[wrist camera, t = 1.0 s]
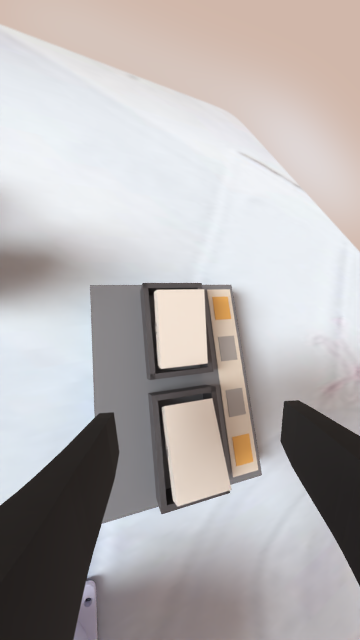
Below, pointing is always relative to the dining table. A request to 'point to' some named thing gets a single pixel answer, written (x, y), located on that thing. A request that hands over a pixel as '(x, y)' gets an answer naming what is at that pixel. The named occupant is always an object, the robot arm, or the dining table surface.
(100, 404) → the switch panel
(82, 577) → the robot arm
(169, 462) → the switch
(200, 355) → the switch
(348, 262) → the dining table surface
